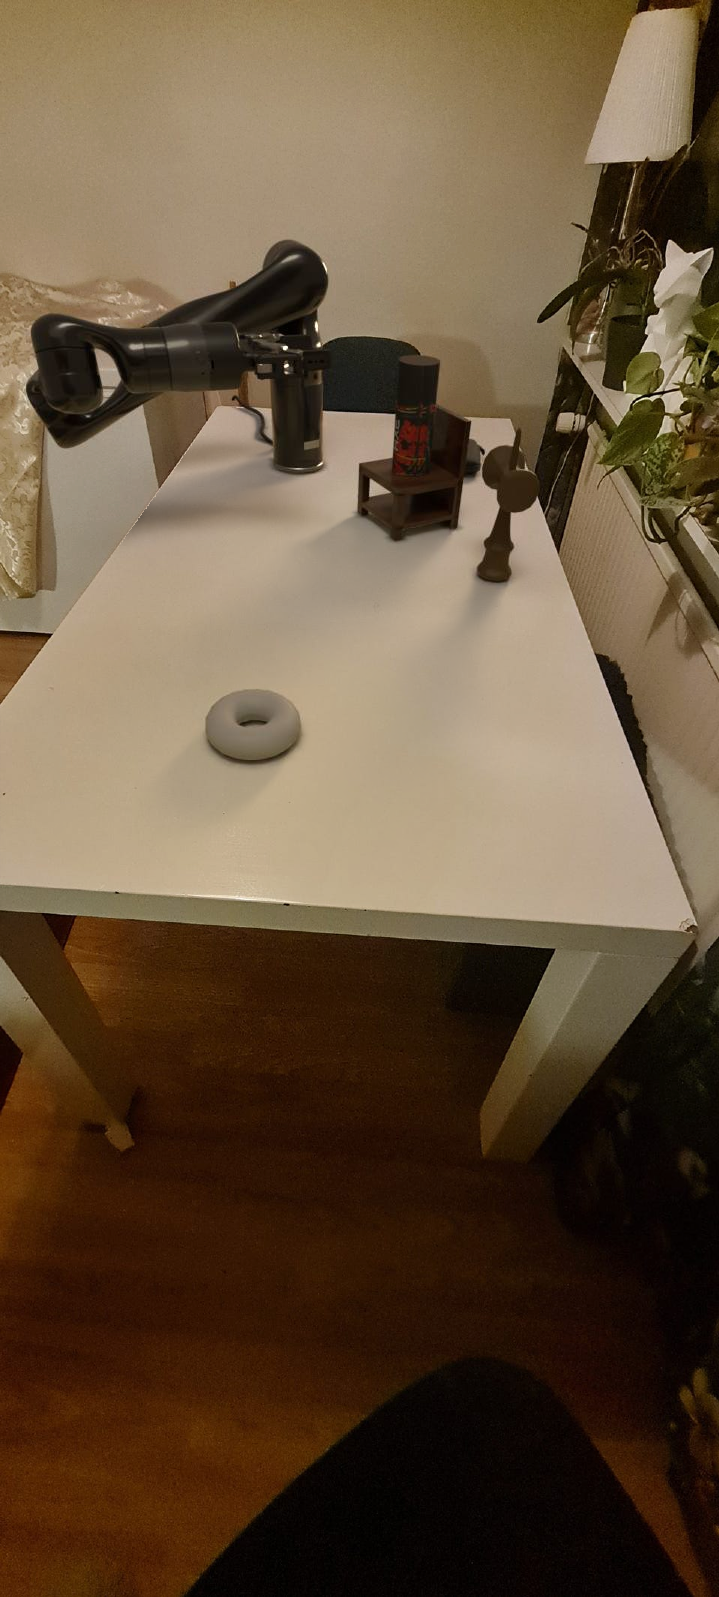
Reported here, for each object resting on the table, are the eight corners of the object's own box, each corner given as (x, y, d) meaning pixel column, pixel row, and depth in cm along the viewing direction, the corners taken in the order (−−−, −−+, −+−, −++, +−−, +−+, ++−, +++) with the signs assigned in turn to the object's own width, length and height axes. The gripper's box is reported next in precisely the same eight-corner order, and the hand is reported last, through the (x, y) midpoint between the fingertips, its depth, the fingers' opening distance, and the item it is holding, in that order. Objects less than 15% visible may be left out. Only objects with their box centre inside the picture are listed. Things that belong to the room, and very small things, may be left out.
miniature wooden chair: (357, 513, 118) (360, 407, 107) (417, 501, 123) (426, 398, 111) (395, 541, 111) (403, 431, 100) (457, 527, 115) (471, 420, 104)
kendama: (506, 560, 107) (533, 416, 93) (521, 591, 100) (553, 440, 86) (467, 560, 107) (488, 415, 93) (479, 591, 100) (505, 439, 86)
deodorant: (384, 467, 111) (390, 358, 101) (411, 460, 114) (420, 352, 104) (409, 479, 108) (418, 367, 98) (437, 471, 111) (449, 361, 100)
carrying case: (485, 480, 131) (483, 453, 141) (487, 462, 129) (485, 436, 139) (427, 475, 131) (430, 449, 142) (429, 458, 129) (431, 432, 140)
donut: (278, 777, 71) (315, 719, 77) (276, 751, 68) (315, 693, 75) (189, 754, 73) (232, 698, 80) (184, 728, 70) (229, 673, 77)
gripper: (194, 375, 99) (305, 369, 103) (215, 405, 89) (336, 396, 94) (187, 311, 94) (304, 307, 98) (208, 336, 84) (337, 330, 88)
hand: (320, 351), depth 96 cm, fingers open, 8 cm apart
